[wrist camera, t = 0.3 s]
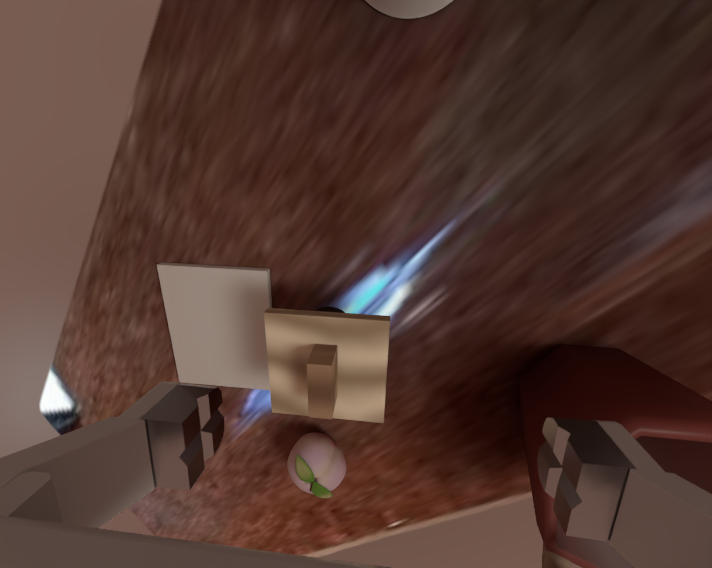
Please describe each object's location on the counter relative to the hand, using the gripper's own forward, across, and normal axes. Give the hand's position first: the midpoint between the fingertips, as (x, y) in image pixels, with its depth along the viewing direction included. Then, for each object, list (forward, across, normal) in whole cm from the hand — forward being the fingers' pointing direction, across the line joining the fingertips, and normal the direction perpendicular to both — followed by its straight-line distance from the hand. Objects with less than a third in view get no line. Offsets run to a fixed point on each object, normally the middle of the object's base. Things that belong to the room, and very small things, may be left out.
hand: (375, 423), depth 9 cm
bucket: (+42, -27, +22) cm, 55 cm away
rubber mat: (+41, +25, +16) cm, 51 cm away
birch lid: (+31, +7, +15) cm, 35 cm away
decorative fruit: (+44, +10, +36) cm, 58 cm away
